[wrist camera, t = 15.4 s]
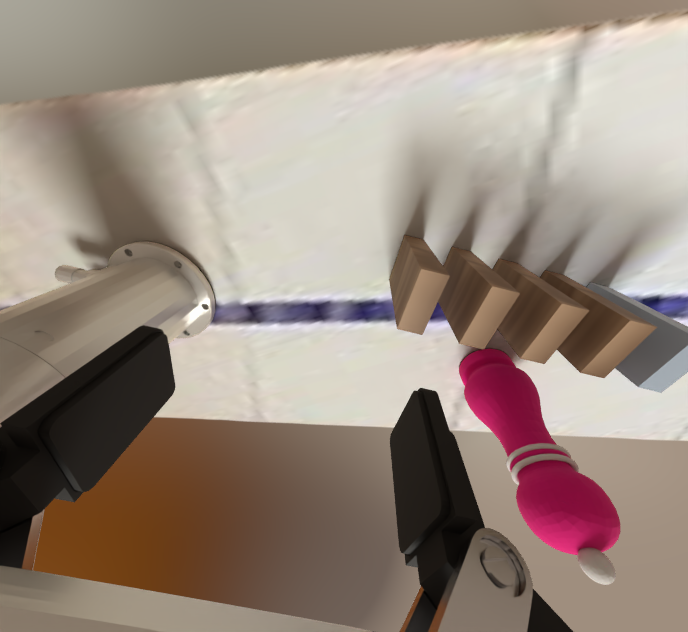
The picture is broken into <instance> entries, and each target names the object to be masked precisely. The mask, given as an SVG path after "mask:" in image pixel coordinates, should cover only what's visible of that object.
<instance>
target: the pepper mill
mask: <svg viewBox="0 0 688 632" xmlns="http://www.w3.org/2000/svg"><path fill="white" fill-rule="evenodd" d="M459 373H460V376H461V379H462V381H463V383H464V385H465V390H464V395H465V399H466V401H467V403H468V405H469V407H470V409H471V410H472V411H473V412H474V414H475V415H476V416H477V417H478V418H479V419H480V420H481V421H482V422H483V423H484V424H485V425H486V426H487V427H489V428H490V429H491V431H492V432H493V433H494V434H495V435H496V436H497V438H498V439H499V440H500V442H501V443H502V445H503V447H504V449H505V451H506V453H507V456H508V459H507V462H506V465H507V468H508V470H509V471H510V472H511V476H512V479H513V480H514V482H515V483H517V484H518V485H519V486H518V489H517V495H516V499H517V504H518V507H519V510H520V512H521V514H522V516H523V518H524V520H525V521H526V523H527V525H528V526H529V527H530V529H531V530H532V531H533V532H534V534H536V535H537V536H538V537H539V538H540V539H541V540H542V541H543V542H545V543H546V544H548V545H550V546H551V547H553V548H555V549H557V550H560V551H562V552H565V553H569V554H574V555H578V561H579V564H580V566H581V568H582V570H583V571H584V572H585V573H586V574H587V576H589V577H590V578H591V579H592V580H594V581H596V582H597V583H600V584H606V585H608V584H610V583H612V582H614V580H615V577H616V573H615V569H614V566H613V564H612V563H611V561H610V560H609V558H608V557H607V556H606V555H605V554H603V553H602V552H604V551H606V550H608V549H609V548H611V547H612V546H613V545H614V544H615V542H616V541H617V540H618V538H619V534H620V521H619V517H618V514H617V511H616V509H615V507H614V505H613V504H612V502H611V500H610V498H609V497H608V496H607V495H606V493H605V492H604V491H603V489H602V488H601V487H600V486H599V485H597V484H596V483H595V482H594V481H593V480H591V479H590V478H588V477H586V476H584V475H582V474H580V473H578V466H577V464H576V463H575V461H573V460H572V459H571V456H570V454H569V452H568V451H567V450H566V449H564V448H563V447H560V446H558V445H557V444H556V443H555V442H554V441H553V439H552V438H551V436H550V434H549V432H548V431H547V429H546V427H545V424H544V421H543V418H542V413H541V406H540V399H539V395H538V392H537V389H536V387H535V385H534V383H533V382H532V380H531V378H530V377H529V376H528V375H527V374H526V373H525V372H524V371H522V370H520V369H518V368H516V366H515V365H514V363H513V362H512V360H511V359H510V358H509V356H508V355H507V354H506V353H504V352H502V351H500V350H497V349H482V350H478V351H475V352H473V353H471V354H469V355H468V356H467V357H466V358H464V360H463V361H462V363H461V364H460V367H459Z"/></svg>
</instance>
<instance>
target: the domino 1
mask: <svg viewBox="0 0 688 632" xmlns="http://www.w3.org/2000/svg"><path fill="white" fill-rule="evenodd" d="M449 277H450V275H449V274H448V273H447V271H446V270H445V269H444V267H443V266H442V264H441V263H440V262H439V260H438V259H437V257H436V256H435V255H434V253H433V252H432V251H431V249H430V248H429V246H428V245H427V244H426V242H425V241H424V240H423V239H419V238H415V237H411V236H408V235H404V238H403V241H402V243H401V246H400V249H399V252H398V255H397V258H396V261H395V264H394V267H393V270H392V273H391V276H390V279H389V281H390V287H391V294H392V300H393V306H394V312H395V318H396V324H397V329H400V330H404V331H408V332H412V333H416V334H421V335H422V334H423V332H424V330H425V328H426V326H427V323H428V321H429V319H430V317H431V315H432V313H433V311H434V309H435V306H436V304H437V302H438V300H439V298H440V296H441V294H442V292H443V289H444V287H445V285H446V283H447V281H448V279H449Z"/></svg>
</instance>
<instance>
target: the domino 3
mask: <svg viewBox="0 0 688 632" xmlns="http://www.w3.org/2000/svg"><path fill="white" fill-rule="evenodd" d="M493 271H495V272H496V273H497V274H498V275H499V276H500V277H502V278H503V279H504V280H505V281H506V282H508V283H509V284H510V285H511V286H512V287H513V288H515V289H516V290H517V291H518V292H519V293H520V295H519V296H518V298H517V299H516V301H515V302H514V304H513V305H512V307H511V308H510V310H509V311H508V313H507V315H506V316H505V318H504V319H503V321H502V322H501V324H500V325H499V327H498V328H497V329H498V330H499V332H500V333H501V334H502V336H503V337H504V338H505V339H506V341H507V342H508V343H509V344H510V346H511V347H512V348H513V350H514V351H515V352H516V353H517V355H518V356H519V357H520V358H521V359H525V360H530V361H534V362H538V363H542V364H545V363H546V362H547V360H548V359H549V358H550V357H551V356H552V354H553V353H554V352H555V351H556V350H557V348H558V347H559V346H560V345H561V344H562V343H563V341H564V340H565V339H566V338H567V337H568V335H569V334H570V333H571V332H572V331H573V329H574V328H575V327H576V326H577V325H578V324H579V322H580V321H581V320H582V319H583V318H584V316H585V315H586V314H587V313H588V312H589V310H588V309H587V308H585V307H583V306H582V305H580V304H579V303H577V302H576V301H574V300H573V299H571V298H570V297H568V296H567V295H565V294H564V293H562V292H561V291H559V290H558V289H556V288H554V287H553V286H551V285H550V284H548V283H547V282H545V281H544V280H542V279H541V278H539V277H538V276H536V275H535V274H533V273H532V272H530V271H529V270H527V269H525V268H524V267H522V266H521V265H519V264H518V263H515V262H511V261H507V260H503V259H498V261H497V263H496V264H495V266H494V268H493Z"/></svg>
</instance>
